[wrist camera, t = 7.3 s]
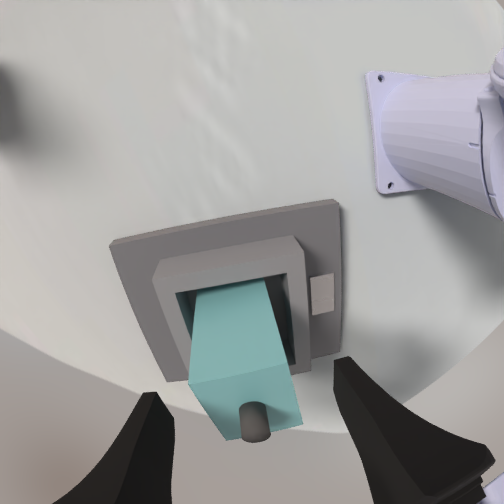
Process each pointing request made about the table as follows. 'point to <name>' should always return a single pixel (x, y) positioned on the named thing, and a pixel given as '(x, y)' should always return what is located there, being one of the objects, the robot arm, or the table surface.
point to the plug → (241, 362)
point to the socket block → (238, 278)
